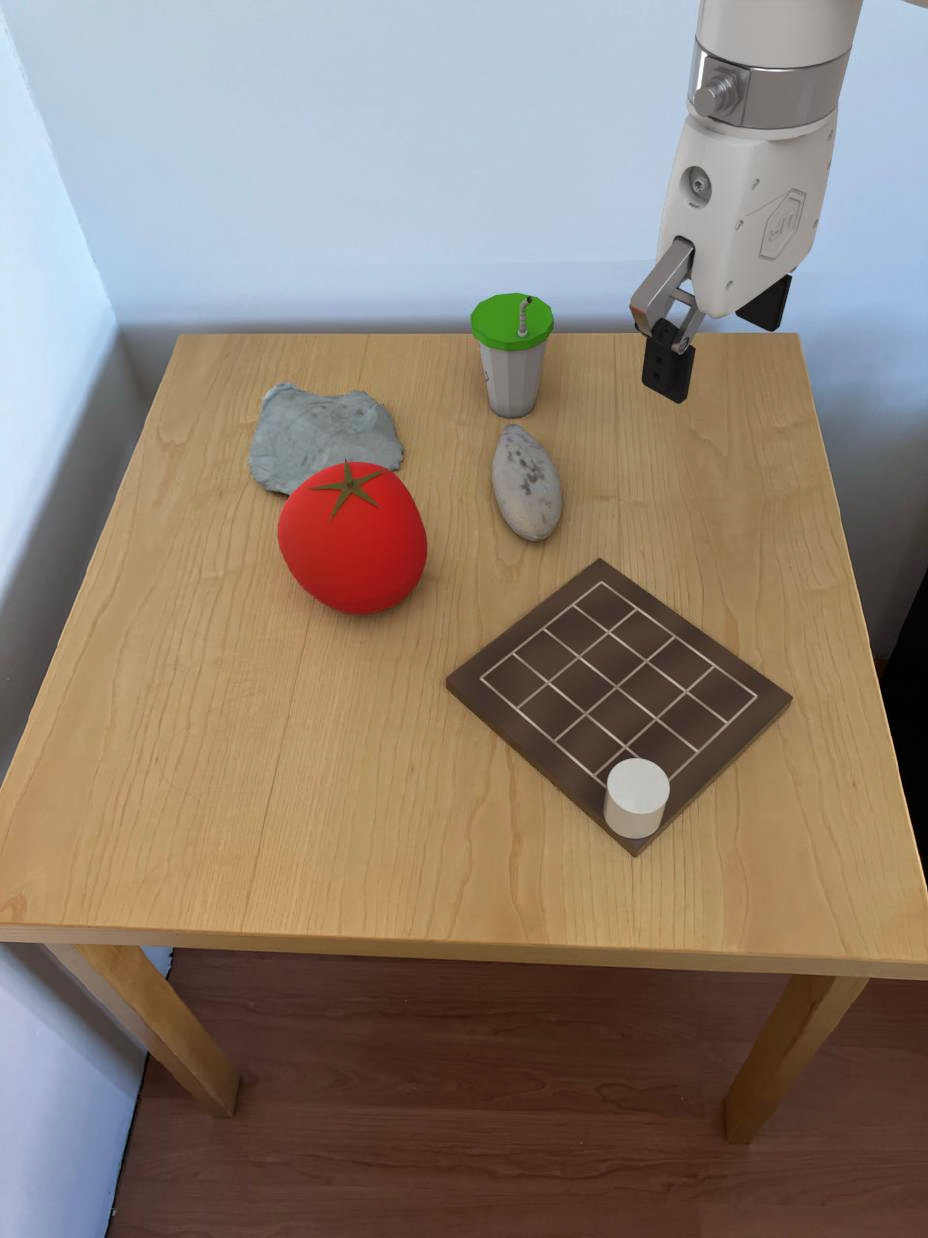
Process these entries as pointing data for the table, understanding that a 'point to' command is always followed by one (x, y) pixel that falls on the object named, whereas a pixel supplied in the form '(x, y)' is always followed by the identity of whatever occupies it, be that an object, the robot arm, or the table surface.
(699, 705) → the board
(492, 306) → the cup
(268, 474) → the stone
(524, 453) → the decorative stone
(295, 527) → the tomato
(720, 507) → the table surface
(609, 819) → the white canister
